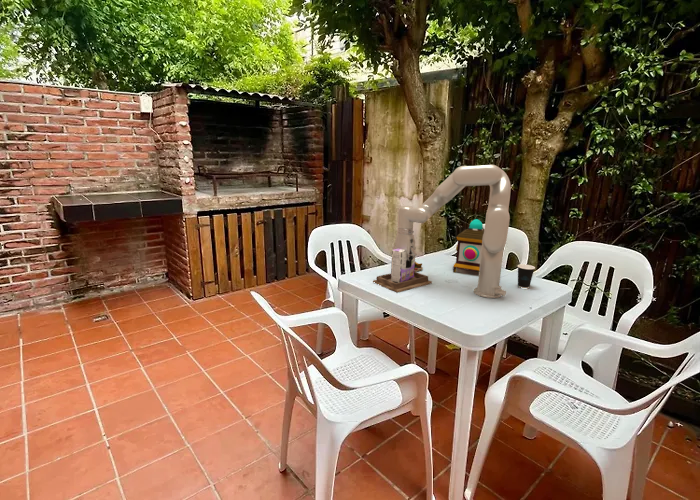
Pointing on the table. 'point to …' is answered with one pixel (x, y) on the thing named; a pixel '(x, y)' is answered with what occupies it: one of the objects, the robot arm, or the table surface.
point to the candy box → (401, 266)
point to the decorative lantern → (469, 247)
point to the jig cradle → (402, 286)
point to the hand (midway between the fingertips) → (403, 265)
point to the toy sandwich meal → (417, 267)
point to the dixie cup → (525, 275)
